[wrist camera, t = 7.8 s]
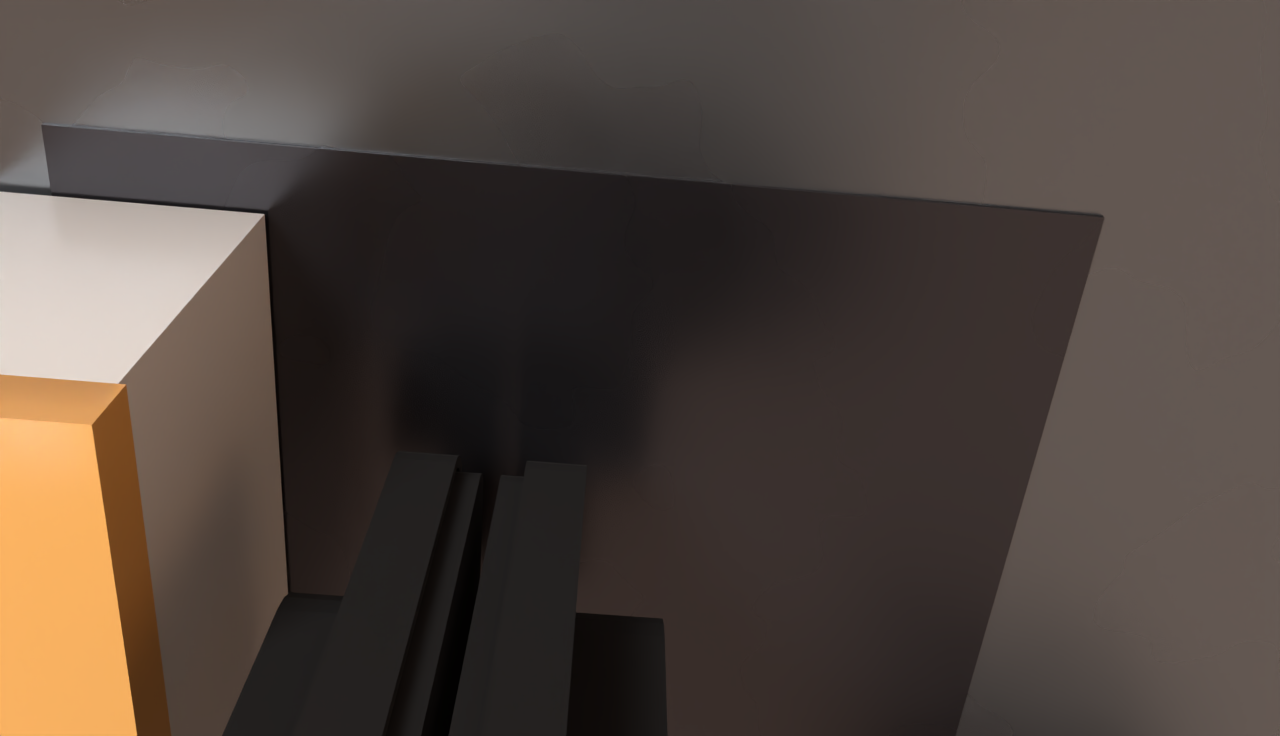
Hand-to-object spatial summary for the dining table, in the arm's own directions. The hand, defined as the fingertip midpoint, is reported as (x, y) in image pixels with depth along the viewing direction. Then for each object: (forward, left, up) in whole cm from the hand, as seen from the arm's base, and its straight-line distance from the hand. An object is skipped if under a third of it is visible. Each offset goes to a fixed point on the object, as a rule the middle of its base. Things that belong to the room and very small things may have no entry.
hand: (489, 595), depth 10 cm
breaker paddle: (0, -3, -1) cm, 4 cm away
